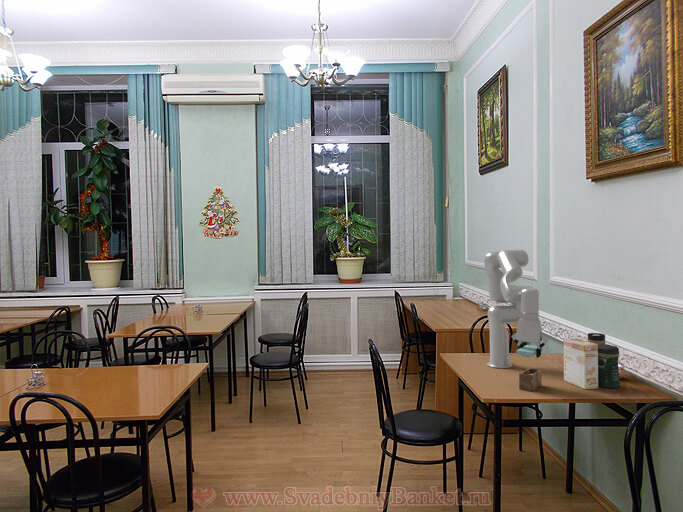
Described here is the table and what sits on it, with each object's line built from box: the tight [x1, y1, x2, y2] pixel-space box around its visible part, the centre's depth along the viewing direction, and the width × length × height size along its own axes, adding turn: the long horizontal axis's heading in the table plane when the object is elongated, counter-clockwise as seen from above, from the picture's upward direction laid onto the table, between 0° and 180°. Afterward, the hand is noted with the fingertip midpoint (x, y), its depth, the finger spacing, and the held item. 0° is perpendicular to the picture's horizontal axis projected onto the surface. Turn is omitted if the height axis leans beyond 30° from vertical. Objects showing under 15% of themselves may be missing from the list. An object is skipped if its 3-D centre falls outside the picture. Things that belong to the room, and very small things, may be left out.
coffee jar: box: [598, 343, 621, 389], centre depth 221 cm, size 10×8×19 cm
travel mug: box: [587, 332, 606, 344], centre depth 238 cm, size 8×8×20 cm
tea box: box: [518, 367, 543, 392], centre depth 221 cm, size 12×6×7 cm, turn 140°
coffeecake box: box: [563, 338, 599, 390], centre depth 224 cm, size 15×7×20 cm, turn 10°
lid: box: [515, 344, 544, 358], centre depth 222 cm, size 13×7×3 cm, turn 139°
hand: (529, 355), depth 222 cm, fingers closed on lid, 7 cm apart
